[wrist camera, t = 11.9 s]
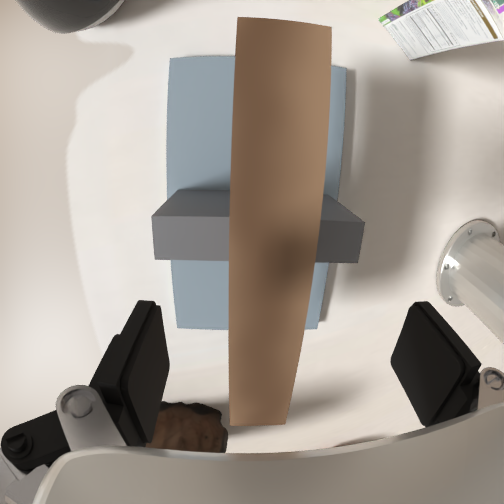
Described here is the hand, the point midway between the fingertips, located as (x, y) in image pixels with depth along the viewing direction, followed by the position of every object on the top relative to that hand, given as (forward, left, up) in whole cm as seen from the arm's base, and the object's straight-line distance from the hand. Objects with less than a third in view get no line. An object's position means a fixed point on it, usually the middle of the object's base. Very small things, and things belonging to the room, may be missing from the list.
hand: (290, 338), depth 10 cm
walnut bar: (0, 0, -10) cm, 10 cm away
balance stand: (0, 0, -20) cm, 20 cm away
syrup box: (-16, -21, -20) cm, 33 cm away
